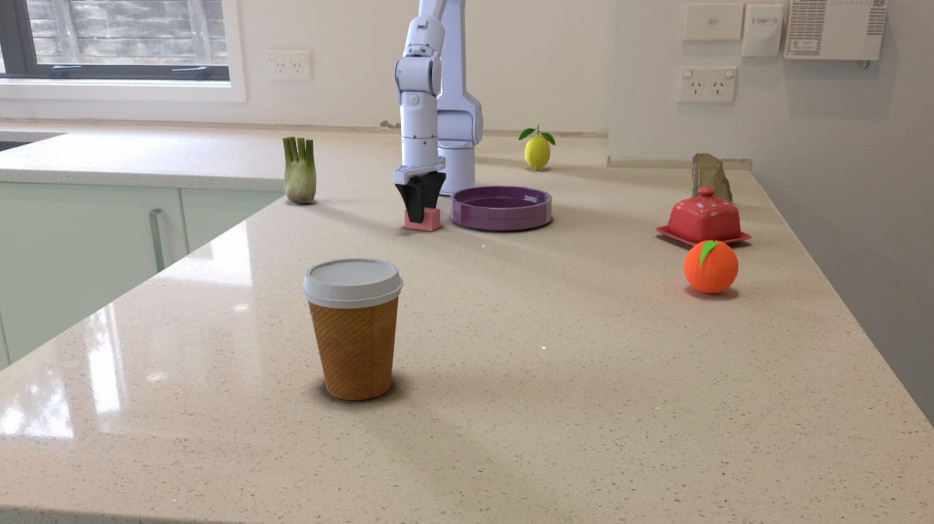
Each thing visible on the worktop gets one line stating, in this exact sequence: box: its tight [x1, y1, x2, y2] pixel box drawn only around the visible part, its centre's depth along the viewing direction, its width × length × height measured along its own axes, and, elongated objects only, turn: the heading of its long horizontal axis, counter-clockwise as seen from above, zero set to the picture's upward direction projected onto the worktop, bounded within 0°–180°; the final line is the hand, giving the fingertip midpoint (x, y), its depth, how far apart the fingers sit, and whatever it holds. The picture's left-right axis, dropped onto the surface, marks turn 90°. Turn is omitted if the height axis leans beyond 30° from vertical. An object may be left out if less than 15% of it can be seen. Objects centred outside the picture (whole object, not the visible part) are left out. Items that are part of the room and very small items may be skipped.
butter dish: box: [654, 187, 753, 248], centre depth 131 cm, size 12×12×8 cm
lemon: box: [517, 123, 556, 171], centre depth 181 cm, size 7×6×10 cm
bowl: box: [449, 185, 553, 232], centre depth 143 cm, size 17×17×4 cm
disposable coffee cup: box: [300, 257, 404, 401], centre depth 81 cm, size 10×10×12 cm
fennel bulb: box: [282, 136, 317, 205], centre depth 151 cm, size 6×5×12 cm
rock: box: [690, 152, 734, 204], centre depth 152 cm, size 11×9×10 cm
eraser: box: [404, 208, 441, 232], centre depth 138 cm, size 5×3×3 cm, turn 68°
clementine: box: [683, 239, 740, 295], centre depth 108 cm, size 8×7×7 cm
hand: (422, 219), depth 138 cm, fingers open, 3 cm apart
